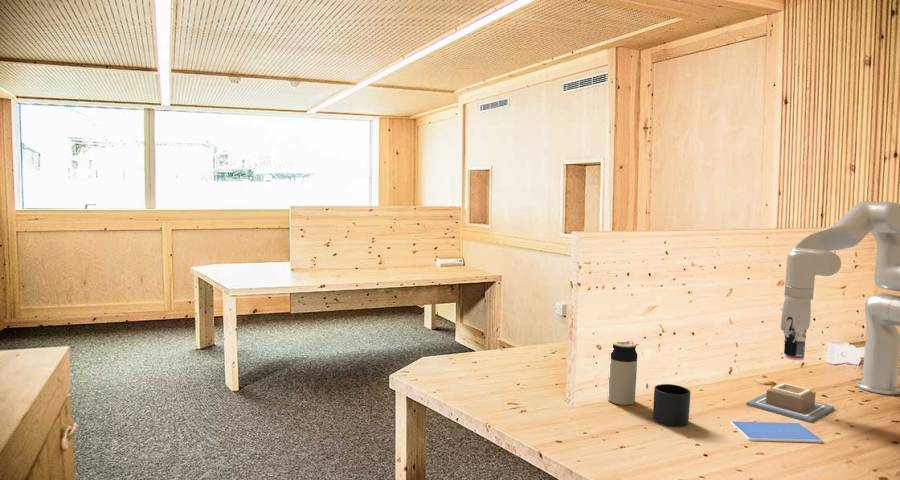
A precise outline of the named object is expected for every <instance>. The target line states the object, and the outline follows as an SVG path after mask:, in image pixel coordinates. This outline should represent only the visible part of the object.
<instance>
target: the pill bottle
mask: <svg viewBox="0 0 900 480" xmlns="http://www.w3.org/2000/svg"><path fill="white" fill-rule="evenodd" d="M790 331H794V330H793V329H791V330H790ZM794 332H795V331H794ZM790 334H792V333H790ZM803 334H804V331H801V332H798V333H797V338H796V343H797V350H796V356H791V355H787V354H784V353H783V356H784V358H785V359H787V360H793V361H803V360H805V350H806V339H805V338H804V337H803V336H802V335H803ZM792 335H793V336H794V334H792Z"/></svg>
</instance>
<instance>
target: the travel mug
mask: <svg viewBox="0 0 900 480" xmlns="http://www.w3.org/2000/svg"><path fill="white" fill-rule="evenodd" d="M637 346H638V343H637V342H636V341H633V340H629V341H627V342H617V343H613V348H614V350H613V352H612V353H611V364H610V377H609V376H608V380H609V397H608V396H607V399H608V398H609V400H608V401H609V402H610V403H612V404H614V405H618V406H631V405H633V404H635V402H636V388H637V385H636V384H637V372H638V371H637V370H638V369H637V368H638V353H637V350H636V349H637Z"/></svg>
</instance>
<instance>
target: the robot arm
mask: <svg viewBox="0 0 900 480" xmlns="http://www.w3.org/2000/svg"><path fill="white" fill-rule="evenodd" d="M869 233H871V234H872V237H873V238H874V240H875V243H876V256H875V259H876V260H875V267H874V274H873V278H874V279H873V280H874V284H875V285H876V287H878V288H880V289H884V290H886V291H887V290H888V291H893V292H899V293H900V203H899V202H894V201H892V202H891V201H875V200H864V201H860V202H858V203H856V204H854V205H853V206H851V208H850V209H849V210H848V211H847V212H846V213H845V214H844V215H843V216H842V217H841V218H840V219H839V220H838V221H836V223H835V224H834V225H832V226H829V227H826V228H823V229H821V230H818V231H816V232H813V233H811V234H809V235H806V236H805V237H803V238H802V239H801V240H800V241H798V242H797V244H796V245H795V246H793V248H792V249H791V250H790V251H789V252H788V253H787V255H786V256H787V257H786V270H785V283H784V295H783V297H784V301H783V304H782V306H783V307H782V311H781V312H782V313H781V320H780V326H779V327H780V330H781V331H783V334H784V348H783V349H784V351H783V355H784V354H787V355H791V356H796V350H797V343H796V338H797V333H798V332H801V331H804V334H803V335H802V336H803V337H804V338H805V340H806V338H807V330H808V329H809V328H810V326H811V325H810V324H811V315H812V314H811V312H812V309H811V307H812V304H811V302H812V301H811V300H814V294H815V293H814V291H815V279H816V278H815V277H816V276H819V277H820V276H822V277H830V276H834V275H835V274H837V273H838V272H839V271H840V269H841V267H842V259H841V257H840V256H839V255H838V254H837V253H836V252H833V251H840V250H845V249H850V248H853V247H855V246H857V245H858V244H859V243H861V242H862V240H863V239H864V238H865V237H866V236H867V235H869ZM864 314H865V320H866V321H865V322H866V324H865V325H866V327H865V328H866V332H865V342H864V343H865V344H864V355H863V366H862V377H861V379H858V380H857V381H856V382H855V385H856V387H858V388H859V389H862V390H864V391H868V392H871V393H875V394H881V395H900V385H899V386H898V385H897V384H898V372H899V362H900V331H899V330H898V328H897V327H900V295H896V294H891V293H885V292H883V293H879V292H878V293H873V294H870V295H869V296H868V297H867V298H866V300H865V304H864ZM791 329H793V330H794V331H795V332H794V331H790V330H791ZM790 333H792V334H794V336H793V335H792V334H790Z"/></svg>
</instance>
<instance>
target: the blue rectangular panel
mask: <svg viewBox="0 0 900 480" xmlns="http://www.w3.org/2000/svg"><path fill="white" fill-rule="evenodd" d="M729 425H731V426H732V427H733V428H734V429H735V430H736V431H737V432H738V433H740V435H741V436H743V437H744V438H745V439H746V440H748V441H750V442H780V443H781V442H783V443H785V442H787V443H819V444H822V443H823V439H822V438H821V437H819V436H818V435H816V434H815V433H813V432H812V431H811V430H809V429H808V428H807V427H805V426H804V425H802V424H800V423H798V422H774V421H773V422H769V421H767V422H766V421H730V424H729Z"/></svg>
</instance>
